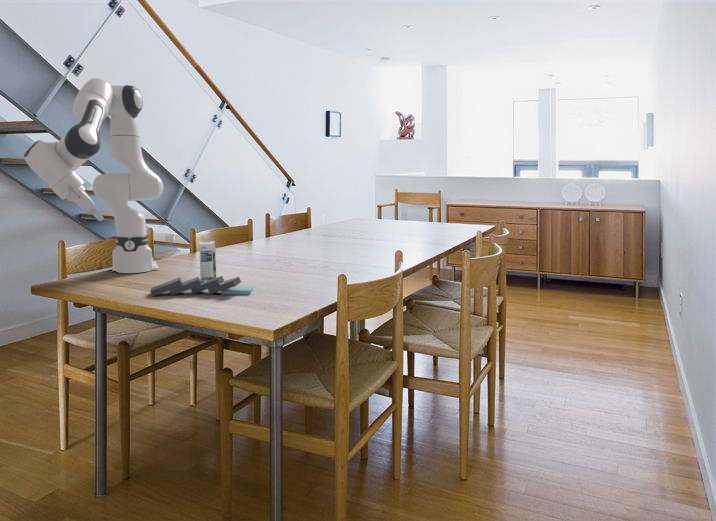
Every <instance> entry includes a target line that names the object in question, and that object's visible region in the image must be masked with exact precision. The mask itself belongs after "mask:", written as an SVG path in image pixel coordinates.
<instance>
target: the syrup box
mask: <svg viewBox="0 0 716 521" xmlns="http://www.w3.org/2000/svg"><path fill="white" fill-rule="evenodd" d="M198 249H199V251H198V252H199V270H200V271H199V272H200V273H199V274H200V275H199V276H200V277H199V278H200V281H201V283H203V282H202V281H209V280H212V279H214V278H217V266H216V265H217V262H216V244H215V241H214V240H213V241H199V242H198Z"/></svg>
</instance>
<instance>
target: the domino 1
mask: <svg viewBox="0 0 716 521" xmlns="http://www.w3.org/2000/svg"><path fill="white" fill-rule="evenodd" d="M182 283H183V280H182V278H181V277H177V278H175V279H172V280H169V281H166V282H164V283H161V284H158V285H155V286H153V287H151V288H150V294H151V296H152V297H155V296H159V295H161V294H163V293H167V292H170V290H172V289H175V288H177V287H180V286H182Z"/></svg>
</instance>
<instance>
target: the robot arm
mask: <svg viewBox="0 0 716 521" xmlns="http://www.w3.org/2000/svg"><path fill="white" fill-rule="evenodd" d="M143 106H144V100H143V96H142V93H141V90H139V88H138V87H136V86H134V85H129V84H128V85H127V84H125V85H119V84H117V85H111V84H110V83H109V82H107V81H106V80H105V79H102V78H98V77H96V78H95V77H93V78H91V79H89V80H87V82H86V83H84V85H82V86H81V88H80V90H78V92H77V95H76V96H75V99H74V101H73V104H72V109H71V111H72V114H73V116H74V118H75V119H76V120H77V121H78V122H79V123H77V124H75V125H74V126H72V127H71V128H70V129H69V130H68V131H67V133H65V135H63V136H62V137H61V139H60V140H59V141H54V142H47V141H43V140H41V139H39V140H36V141H35V142H34V143H33V144H32V145H31V146H30V147H29V148H28V149H27V150H26V151H25V153H24V155H23V159H24V160H25V162H26V164H27V165H28V167H29V168H30V169H31V171H33V172H34V174H36V175H37V176H38V178H40V179H41V180H43V181H45V182H46V184H47V185H48V186H49V188H50V190H52V191H53V192H54V193H55V194H56V195H57V197H59V198H60V199H61V200H65V199H67V201H68V202H74V204H76V205H77V206H78V207H80V208H81V209H82V210H83V211H84V212H85V213H88V212H89V213H90V214H91V215H93V217H94V218H95V219H97V221H98V222H102V221H103V220H104V219H105V218H104V216H103V215H102V214H101V213H100V212H99V210H98V209H97V208H96V203H95V202H94V201H93V199H92V198H91V197H90V195H88V193H87V192H86V191H85V190H86V187H85V186H84V185H85V183H86V182H85V180H83V178H82V177H81V176H80V175H78V173H77V172H76V170H78V169H79V168H80V167H81V166H82V165H83V164H85V163H86V162H87V161H88V160H89V159H90V158H92V157H93V156H94V155H96V154H98V152H99V151H100V148H101V138H100V135H101V134H100V133H101V130H102V128H103V127H102V126H103V123H104V121H105V119H106V117H110V121H109V139H110V141H109V142H110V143H109V144H110V155H111V158H112V159H113V160H114V161H116V162H117V163H119V164H122V165H124V166H126V167H127V168H128V169H129V172H109V173H108V172H107V173H103V174H98V175H96V177H95V178H94V179H93V182H92V191H93V194H94V195H95V197H96V198H97V199H98V200H99V201H101V202H103V203H104V204H106V206H107V207H108V208H109V209H110V210H111V212H112V215H113V219H114V222H115V231H116V236H115V245H116V247H115V248H114V249H113V250H112V266H111V267H109V268H108V271H109V270H114V271H116V272H115V273H117V272H118V273H119V274H139V273H145V272H150V271H158V270H159V266H158V264H157V262H156V261H155V258H154V257H153V251H152V249H151V247H149V245H148V244H149V237H148V234H147V224H146V223H147V222H146V216H145V215H144V214H143V213H142V212H140V211H139V210H137V209H136V208H135V209H134V208H132V207H130V206H129V204H128V202H135V201H136V202H137V201H139V202H141V201H151V200H157V199H159V198H160V197H161V196H162V194H163V192H164V184H163V181H162V179H161V177H160V176H159V175H157V173H154V171H153V170H152V169H150V168H149V167H148V165H147V164H146V161H145V158H144V156H143V150H142V143H141V132H140V127H139V122H138V115H139V114H140V113H141V111H142V109H143Z"/></svg>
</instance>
